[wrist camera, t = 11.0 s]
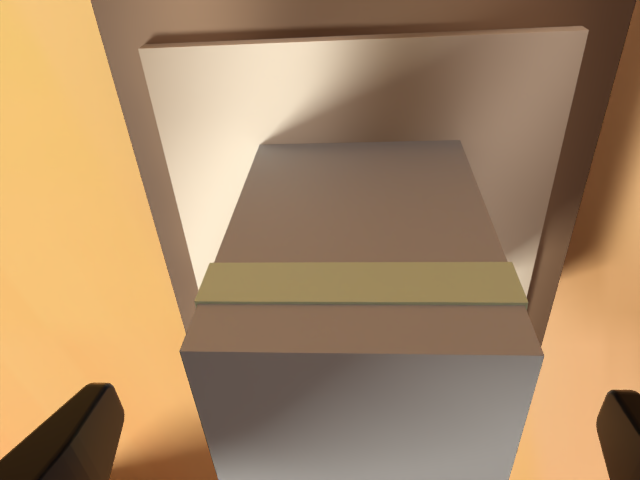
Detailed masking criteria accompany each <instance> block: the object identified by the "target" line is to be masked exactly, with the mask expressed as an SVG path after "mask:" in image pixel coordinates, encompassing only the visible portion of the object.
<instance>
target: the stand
mask: <svg viewBox="0 0 640 480" xmlns="http://www.w3.org/2000/svg"><path fill="white" fill-rule="evenodd" d="M635 3H636V0H91V4H92V7H93V11H94V14H95V17H96V21H97V24H98V28H99V31H100V35H101V38H102V42H103V45H104V49H105V52H106V56H107V59H108V63H109V66H110V70H111V73H112V77H113V80H114V84H115V87H116V91H117V94H118V98H119V101H120V105H121V108H122V112H123V115H124V119H125V122H126V126H127V129H128V133H129V136H130V140H131V143H132V147H133V150H134V154H135V157H136V161H137V164H138V168H139V171H140V175H141V178H142V182H143V185H144V189H145V192H146V196H147V199H148V203H149V206H150V209H151V213H152V216H153V220H154V223H155V227H156V230H157V234H158V237H159V241H160V244H161V248H162V251H163V255H164V258H165V262H166V265H167V269H168V272H169V276H170V279H171V283H172V286H173V290H174V293H175V297H176V300H177V304H178V307H179V311H180V314H181V318H182V321H183V325H184V328H185V332H186V333H187V331H188V328H189V326H190V323H191V320H192V318H193V315H194V313H195V310H196V306H195V302H194V301H195V298H196V296H197V293H198V291H199V288H200V286H201V283H202V281H203V278H204V276H205V273H206V271H207V268H208V266H209V263H214V261H215V258H216V256H217V253H218V251H219V248H220V245H221V243H222V240H223V238H224V235H225V233H226V230H227V227H228V225H229V222H230V220H231V217H232V214H233V212H234V209H235V207H236V204H237V202H238V199H239V196H240V194H241V191H242V189H243V186H244V183H245V181H246V178H247V176H248V173H249V171H250V168H251V165H252V163H253V160H254V158H255V155H256V152H257V150H258V147H259V145H263V144H308V143H353V142H398V141H443V140H460V141H461V144H462V146H463V149H464V151H465V154H466V157H467V159H468V162H469V164H470V167H471V169H472V172H473V175H474V177H475V180H476V182H477V185H478V187H479V190H480V192H481V195H482V198H483V200H484V203H485V205H486V208H487V210H488V213H489V215H490V218H491V221H492V223H493V226H494V228H495V231H496V233H497V236H498V239H499V241H500V244H501V246H502V249H503V251H504V254H505V256H506V259H507V262H512V263H513V265H514V268H515V270H516V273H517V275H518V278H519V280H520V283H521V285H522V288H523V290H524V293H525V295H526V298H527V300H528V302H529V303H528V307H527V313H528V315H529V318H530V320H531V323H532V326H533V328H534V331H535V333H536V336H537V338H538V341H539V344H540V346H541V345H542V341H543V338H544V334H545V330H546V327H547V323H548V320H549V316H550V312H551V309H552V305H553V301H554V298H555V294H556V290H557V287H558V283H559V280H560V276H561V272H562V269H563V265H564V261H565V258H566V254H567V250H568V247H569V243H570V239H571V236H572V232H573V229H574V225H575V221H576V218H577V214H578V210H579V207H580V203H581V199H582V196H583V192H584V188H585V185H586V181H587V178H588V174H589V170H590V167H591V163H592V159H593V156H594V152H595V148H596V145H597V141H598V137H599V134H600V130H601V127H602V123H603V119H604V116H605V112H606V108H607V105H608V101H609V97H610V94H611V90H612V86H613V83H614V79H615V76H616V72H617V68H618V65H619V61H620V57H621V54H622V50H623V46H624V43H625V39H626V35H627V32H628V28H629V25H630V21H631V17H632V14H633V10H634V6H635Z"/></svg>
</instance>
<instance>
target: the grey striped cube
mask: <svg viewBox="0 0 640 480" xmlns="http://www.w3.org/2000/svg"><path fill="white" fill-rule="evenodd" d="M194 302H195V306H196V310H195V313H194V315H193V318H192V320H191V323H190V326H189V328H188V331H187V333H186V336H185V339H184V341H183V344H182V346H181V349H180V355H181V358H182V361H183V365H184V368H185V371H186V374H187V378H188V381H189V384H190V388H191V391H192V394H193V398H194V401H195V404H196V408H197V411H198V414H199V418H200V421H201V424H202V427H203V431H204V434H205V437H206V441H207V444H208V447H209V451H210V454H211V457H212V461H213V464H214V467H215V470H216V474H217V477H218V480H509V477H510V473H511V470H512V467H513V463H514V460H515V456H516V453H517V449H518V446H519V442H520V439H521V435H522V432H523V428H524V425H525V421H526V418H527V414H528V411H529V407H530V404H531V400H532V397H533V393H534V390H535V386H536V383H537V379H538V376H539V373H540V369H541V366H542V362H543V359H544V354H543V351H542V349H541V346H540V344H539V341H538V338H537V336H536V333H535V331H534V328H533V326H532V323H531V320H530V318H529V315H528V313H527V307H528V303H529V302H528V300H527V298H526V295H525V293H524V290H523V288H522V285H521V283H520V280H519V278H518V275H517V273H516V270H515V268H514V265H513V263H512V262H507V259H506V256H505V254H504V251H503V249H502V246H501V244H500V241H499V239H498V236H497V233H496V231H495V228H494V226H493V223H492V221H491V218H490V215H489V213H488V210H487V208H486V205H485V203H484V200H483V198H482V195H481V192H480V190H479V187H478V185H477V182H476V180H475V177H474V175H473V172H472V169H471V167H470V164H469V162H468V159H467V157H466V154H465V151H464V149H463V146H462V144H461V141H460V140H443V141H398V142H353V143H308V144H263V145H259V147H258V150H257V152H256V155H255V158H254V160H253V163H252V165H251V168H250V171H249V173H248V176H247V178H246V181H245V183H244V186H243V189H242V191H241V194H240V196H239V199H238V202H237V204H236V207H235V209H234V212H233V214H232V217H231V220H230V222H229V225H228V227H227V230H226V233H225V235H224V238H223V240H222V243H221V245H220V248H219V251H218V253H217V256H216V258H215V261H214V263H209V266H208V268H207V271H206V273H205V276H204V278H203V281H202V283H201V286H200V288H199V291H198V293H197V296H196V298H195V301H194Z"/></svg>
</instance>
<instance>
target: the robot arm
mask: <svg viewBox="0 0 640 480" xmlns="http://www.w3.org/2000/svg"><path fill="white" fill-rule="evenodd" d="M123 423H124V409H123V407H122V404H121V402H120V400H119V398H118V395H117V393H116V391H115V388H114V387H113V385H111V384H110V383H90V384H88V385H86V386H85V387H83V388H82V389H81V390H80V391H79V392H78V393H77V394H75V395H74V396H73V397H72V398H71V399H70V400H69V401H67V402H66V403H65V404H64V405H63V406H62V407H61V408H59V409H58V410H57V411H56V412H55V413H54V414H52V415H51V416H50V417H49V418H48V419H47V420H46V421H44V422H43V423H42V424H41V425H40V426H39V427H38V428H36V429H35V430H34V431H33V432H32V433H31V434H30V435H28V436H27V437H26V438H25V439H24V440H23V441H22V442H20V443H19V444H18V445H17V446H16V447H15V448H13V449H12V450H11V451H10V452H9V453H8V454H7V455H5V456H4V457H3V458H2V459H1V460H0V480H109V478H110V474H111V470H112V466H113V462H114V458H115V454H116V450H117V447H118V443H119V439H120V435H121V431H122V427H123ZM596 427H597V433H598V437H599V440H600V444H601V448H602V452H603V456H604V459H605V463H606V467H607V471H608V474H609V478H610V480H640V394H639V393H638V392H636V391H633V390H611V391H609V392H608V393H607V395H606V397H605V400H604V402H603V405H602V407H601V409H600V412H599V414H598V417H597V422H596Z"/></svg>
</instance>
